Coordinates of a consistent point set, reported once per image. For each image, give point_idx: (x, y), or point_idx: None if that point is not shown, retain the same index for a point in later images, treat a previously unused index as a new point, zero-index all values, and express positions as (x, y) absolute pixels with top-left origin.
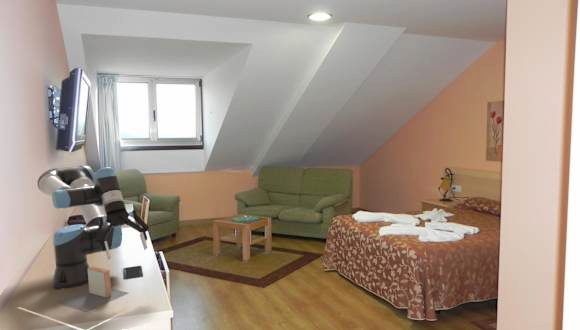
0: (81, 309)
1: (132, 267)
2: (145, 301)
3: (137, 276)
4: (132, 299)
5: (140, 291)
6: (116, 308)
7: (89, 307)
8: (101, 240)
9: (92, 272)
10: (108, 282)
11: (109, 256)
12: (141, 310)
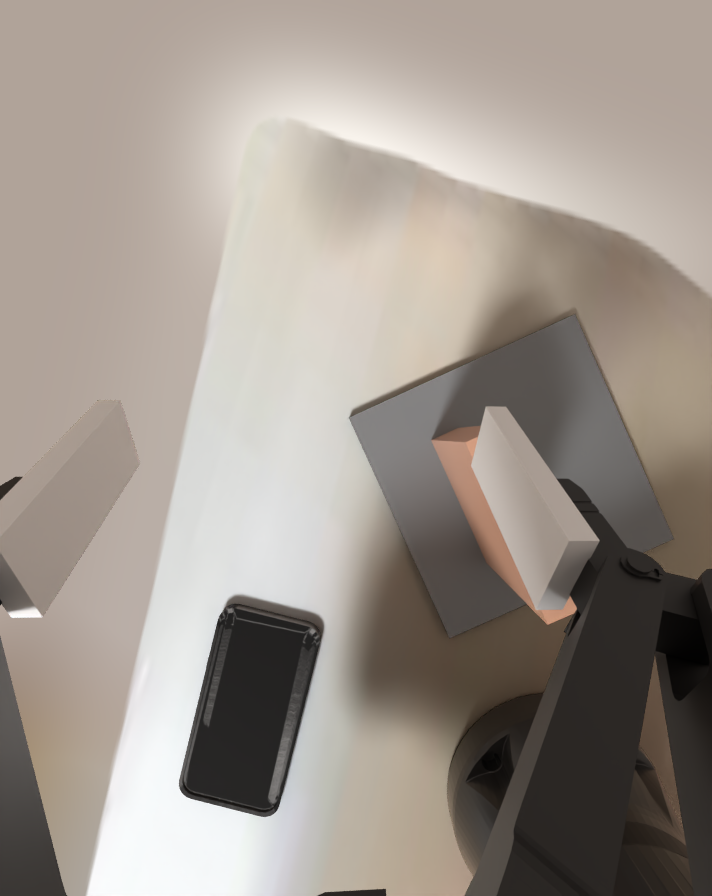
0: (587, 361)
1: (228, 797)
2: (308, 275)
3: (246, 628)
4: (353, 343)
5: (291, 419)
6: (443, 285)
7: (552, 360)
8: (651, 567)
9: None
10: (459, 435)
11: (500, 410)
12: (354, 184)
